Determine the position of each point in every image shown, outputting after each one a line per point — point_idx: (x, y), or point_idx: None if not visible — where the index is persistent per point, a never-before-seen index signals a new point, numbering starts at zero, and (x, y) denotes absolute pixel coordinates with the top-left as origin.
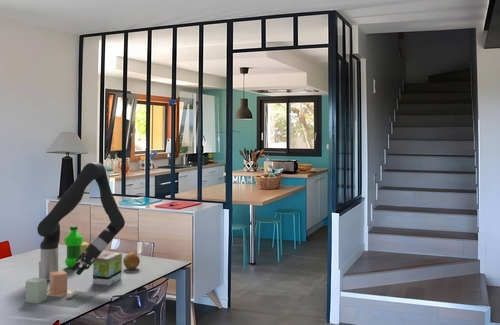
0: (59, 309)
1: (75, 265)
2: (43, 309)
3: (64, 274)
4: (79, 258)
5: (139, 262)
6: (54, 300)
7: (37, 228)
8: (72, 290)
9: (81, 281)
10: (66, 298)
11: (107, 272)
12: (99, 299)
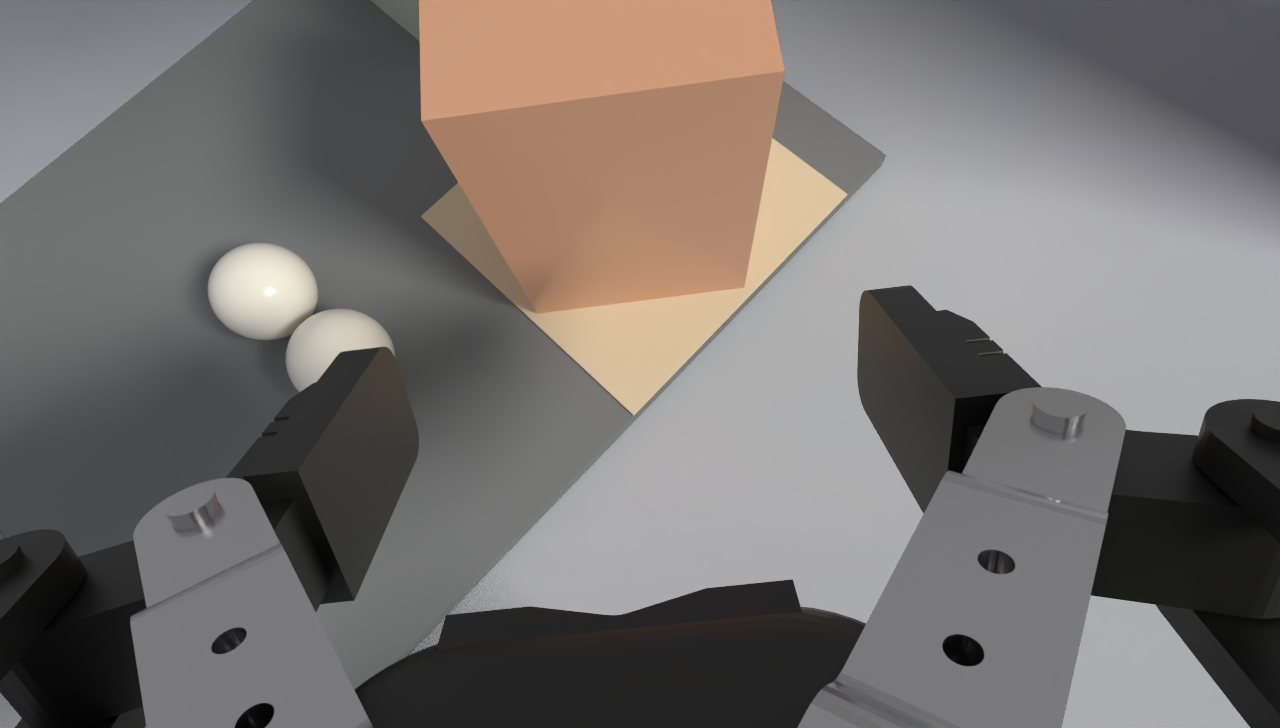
0: (12, 151)
1: (923, 397)
2: (134, 9)
3: (424, 72)
4: (1079, 548)
5: None
6: (315, 125)
7: None
8: (305, 330)
9: None
10: None
11: None
12: (13, 724)
